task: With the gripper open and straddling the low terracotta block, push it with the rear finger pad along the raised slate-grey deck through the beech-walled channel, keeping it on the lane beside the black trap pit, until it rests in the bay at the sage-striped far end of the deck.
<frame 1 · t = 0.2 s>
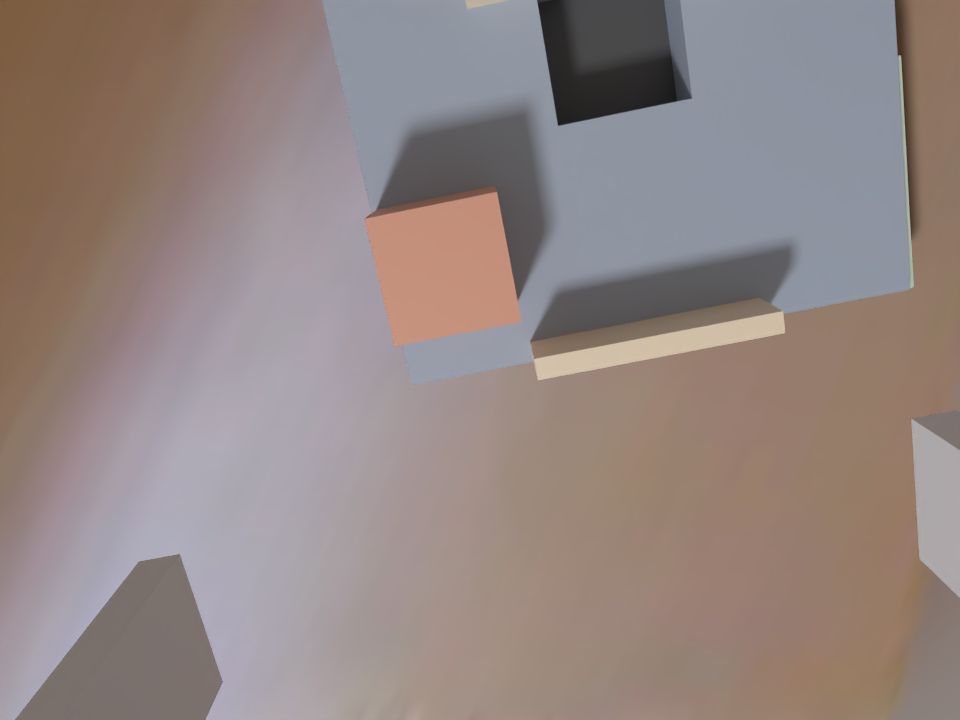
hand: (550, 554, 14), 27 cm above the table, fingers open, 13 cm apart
block: (447, 257, 37), point 3 cm above the table, touching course
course: (618, 145, 39), on the table
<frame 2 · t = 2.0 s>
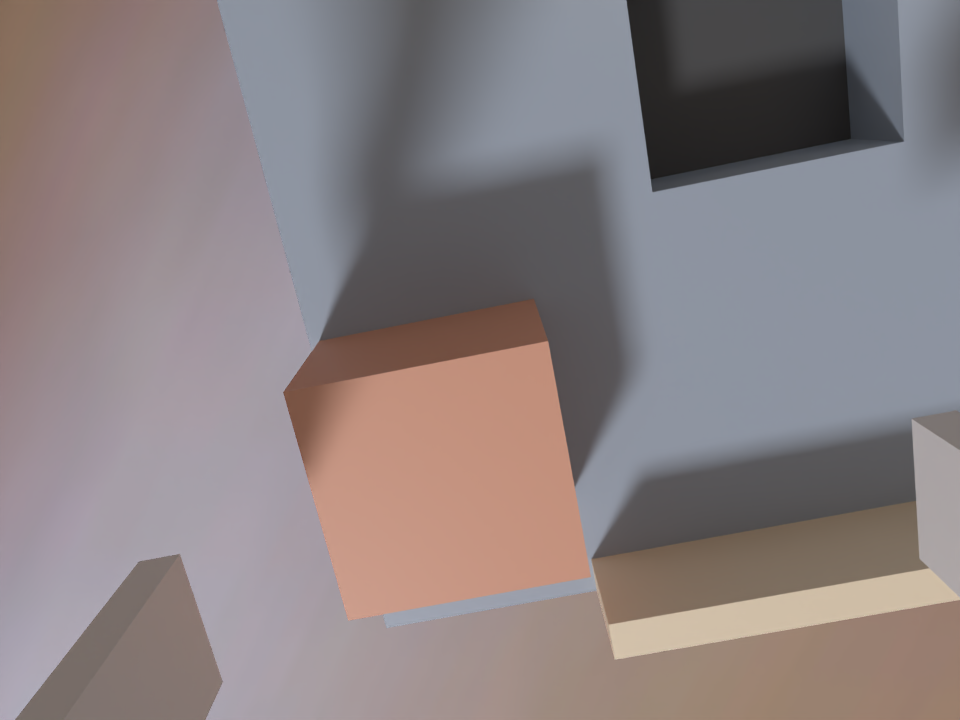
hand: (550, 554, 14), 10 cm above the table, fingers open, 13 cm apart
block: (448, 420, 21), point 3 cm above the table, touching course
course: (743, 215, 23), on the table
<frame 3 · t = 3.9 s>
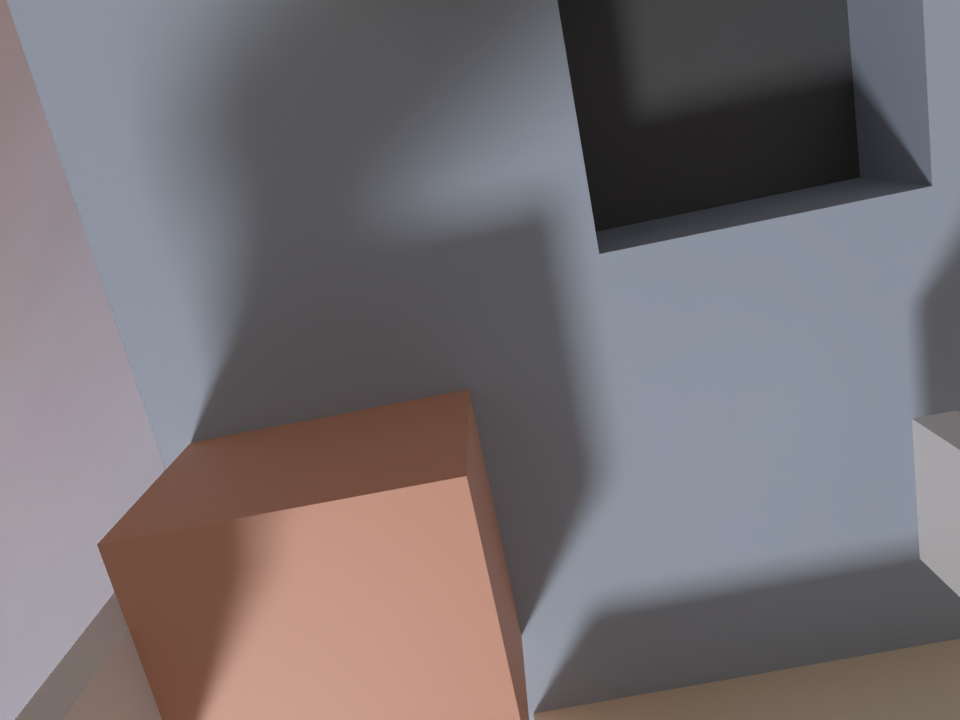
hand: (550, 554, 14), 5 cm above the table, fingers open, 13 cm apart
block: (362, 542, 16), point 3 cm above the table, touching gripper
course: (724, 273, 18), on the table
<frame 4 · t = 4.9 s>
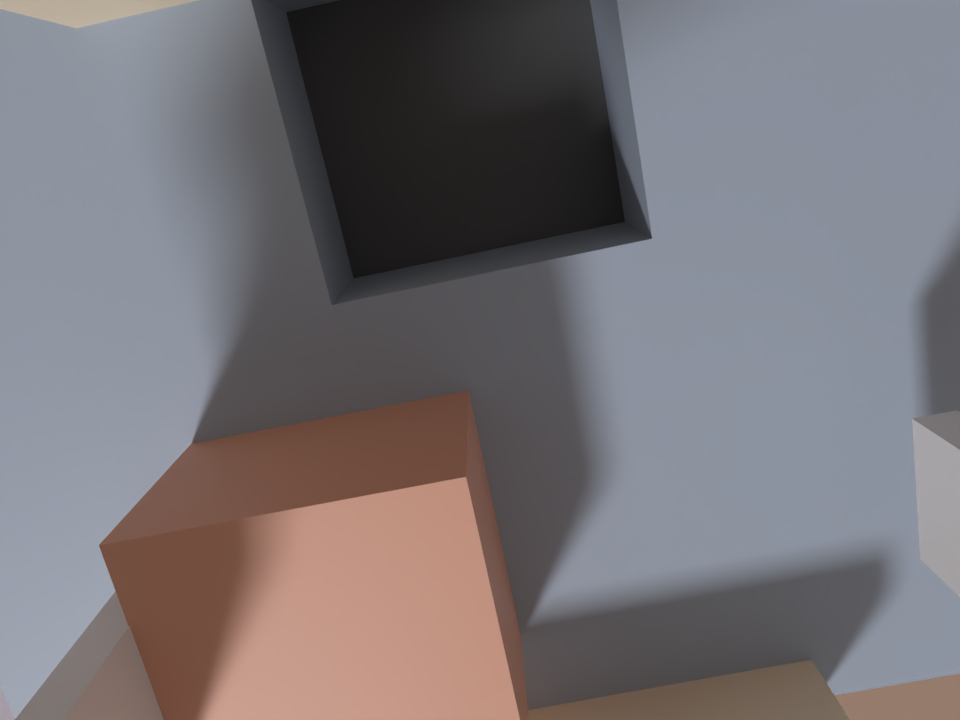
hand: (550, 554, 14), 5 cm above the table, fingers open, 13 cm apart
block: (362, 543, 16), point 3 cm above the table, touching gripper
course: (501, 314, 18), on the table
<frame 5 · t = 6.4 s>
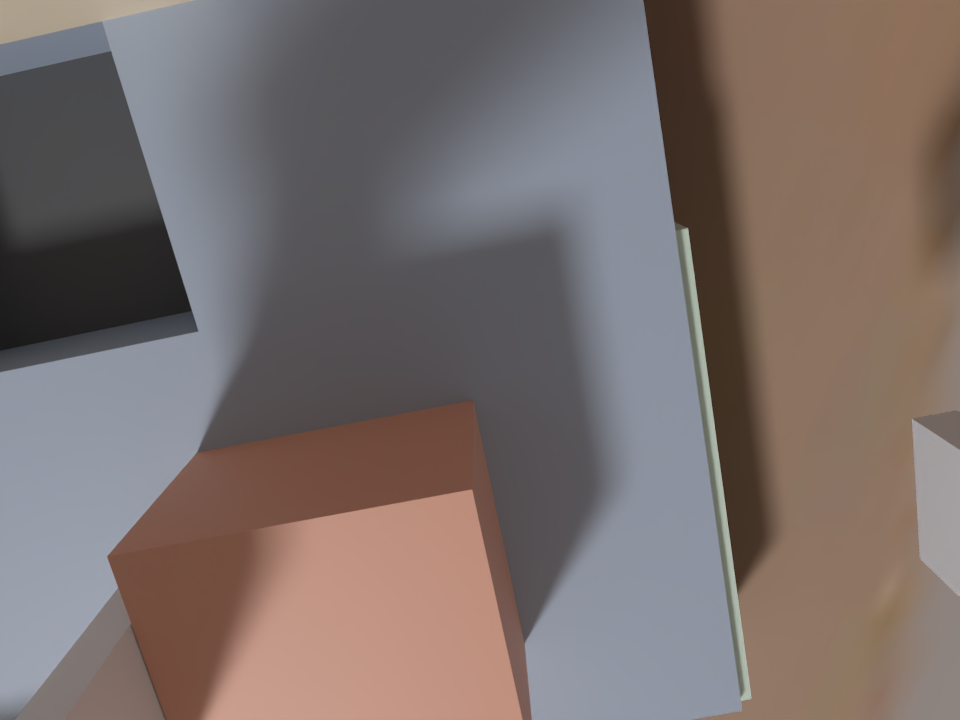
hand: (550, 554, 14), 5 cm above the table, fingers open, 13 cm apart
block: (366, 551, 16), point 3 cm above the table, touching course
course: (135, 388, 19), on the table
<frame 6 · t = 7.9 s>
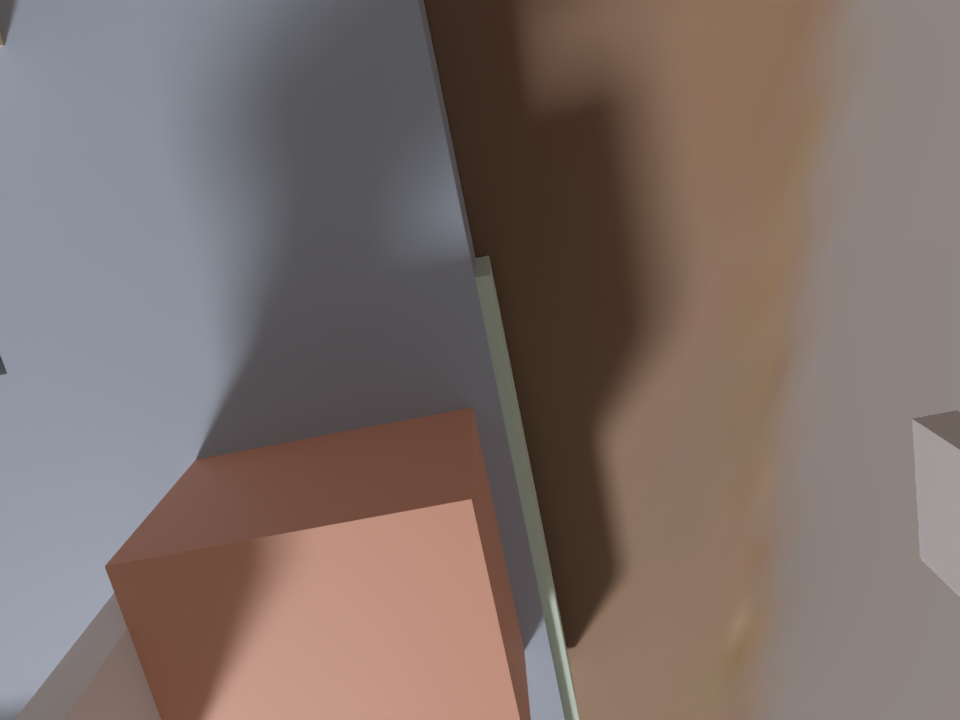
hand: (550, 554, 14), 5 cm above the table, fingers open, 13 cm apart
block: (366, 558, 16), point 3 cm above the table, touching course, gripper
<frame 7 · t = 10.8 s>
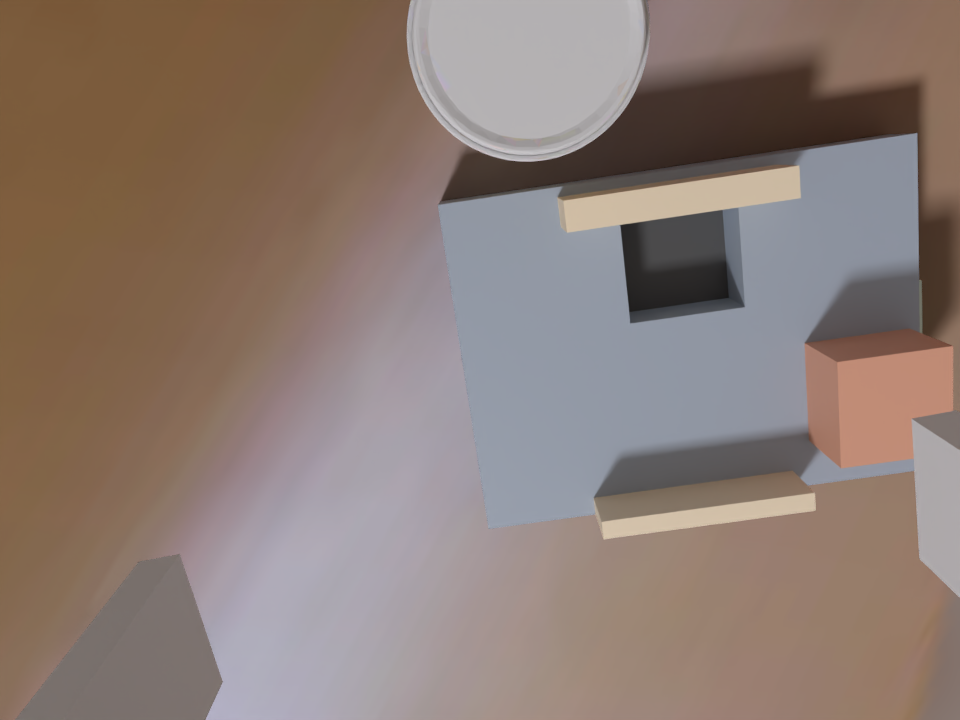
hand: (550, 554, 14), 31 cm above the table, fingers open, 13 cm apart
coffee cup: (518, 63, 42), on the table
block: (858, 385, 43), point 3 cm above the table, touching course
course: (676, 330, 45), on the table
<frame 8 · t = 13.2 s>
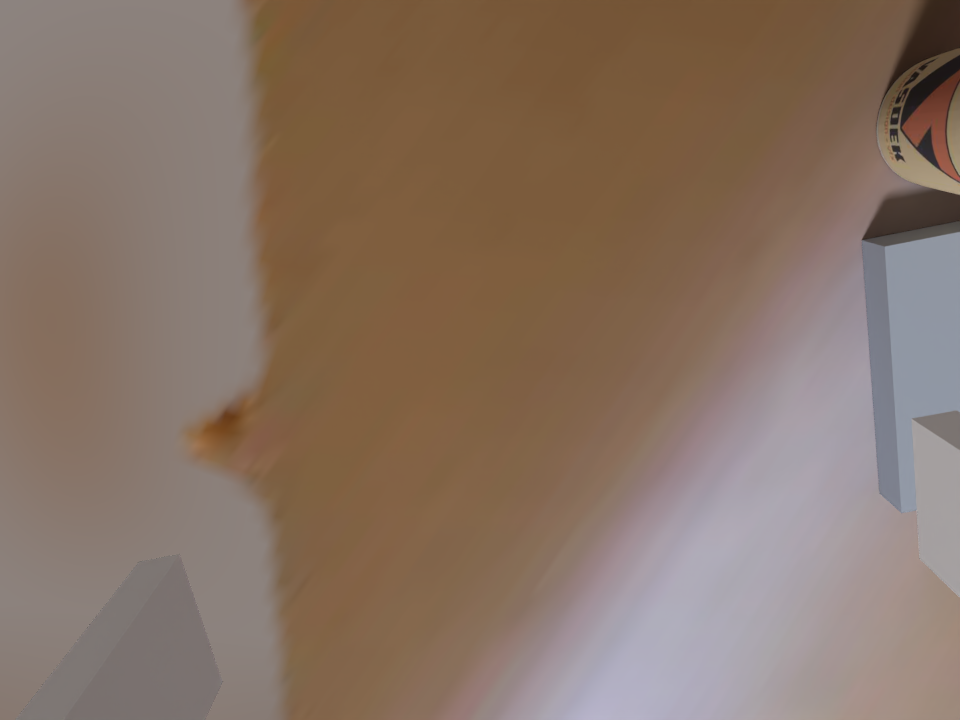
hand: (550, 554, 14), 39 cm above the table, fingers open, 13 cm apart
coffee cup: (936, 121, 50), on the table
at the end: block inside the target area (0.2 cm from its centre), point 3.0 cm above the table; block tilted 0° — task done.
